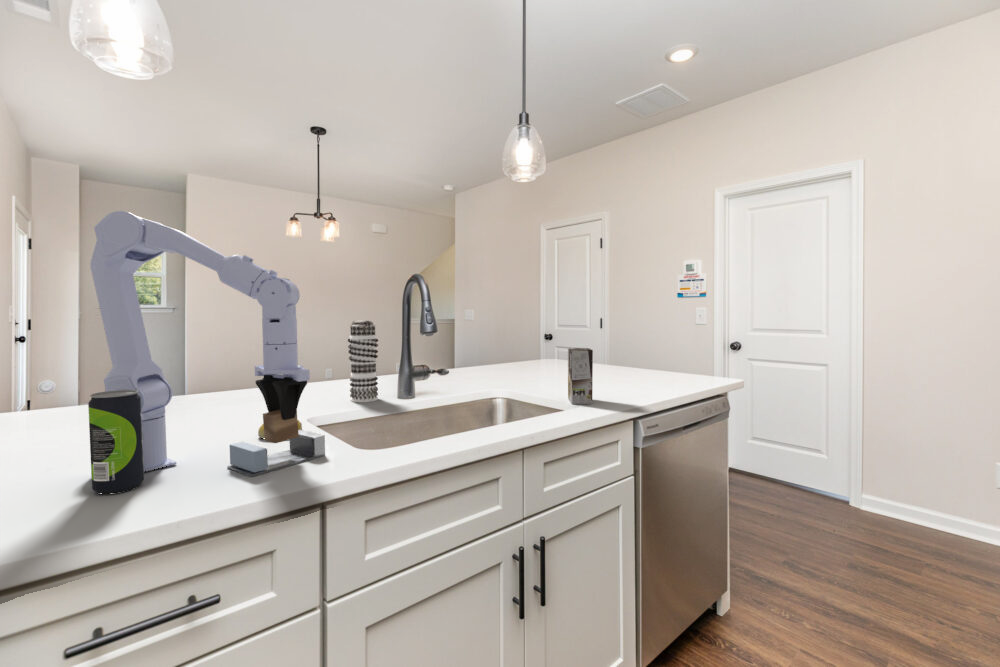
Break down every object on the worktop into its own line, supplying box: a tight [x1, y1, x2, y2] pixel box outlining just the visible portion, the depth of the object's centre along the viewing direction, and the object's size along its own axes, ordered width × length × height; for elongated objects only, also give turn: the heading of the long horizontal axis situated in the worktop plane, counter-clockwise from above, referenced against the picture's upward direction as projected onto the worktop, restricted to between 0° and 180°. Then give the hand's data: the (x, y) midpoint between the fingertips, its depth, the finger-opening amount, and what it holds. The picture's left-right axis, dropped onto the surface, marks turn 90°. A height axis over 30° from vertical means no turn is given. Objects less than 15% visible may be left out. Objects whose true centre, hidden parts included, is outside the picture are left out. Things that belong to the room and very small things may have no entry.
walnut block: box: [262, 410, 299, 444], centre depth 85 cm, size 4×4×5 cm
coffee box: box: [567, 347, 594, 405], centre depth 141 cm, size 9×6×16 cm
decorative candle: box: [347, 320, 379, 403], centre depth 146 cm, size 9×9×25 cm
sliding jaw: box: [229, 441, 268, 473], centre depth 80 cm, size 2×8×4 cm, turn 56°
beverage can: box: [87, 390, 145, 495], centre depth 72 cm, size 6×6×15 cm
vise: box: [226, 429, 326, 478], centre depth 85 cm, size 14×8×4 cm, turn 146°
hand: (282, 417), depth 85 cm, fingers closed on walnut block, 3 cm apart
